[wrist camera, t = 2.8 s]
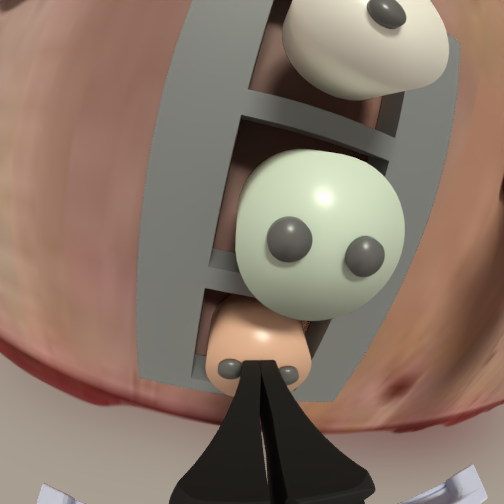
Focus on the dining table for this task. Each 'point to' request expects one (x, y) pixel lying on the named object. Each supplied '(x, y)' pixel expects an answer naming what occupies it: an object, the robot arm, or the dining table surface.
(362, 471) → the robot arm
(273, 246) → the button two
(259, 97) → the button board
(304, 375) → the button three
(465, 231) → the dining table surface
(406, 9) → the button one
